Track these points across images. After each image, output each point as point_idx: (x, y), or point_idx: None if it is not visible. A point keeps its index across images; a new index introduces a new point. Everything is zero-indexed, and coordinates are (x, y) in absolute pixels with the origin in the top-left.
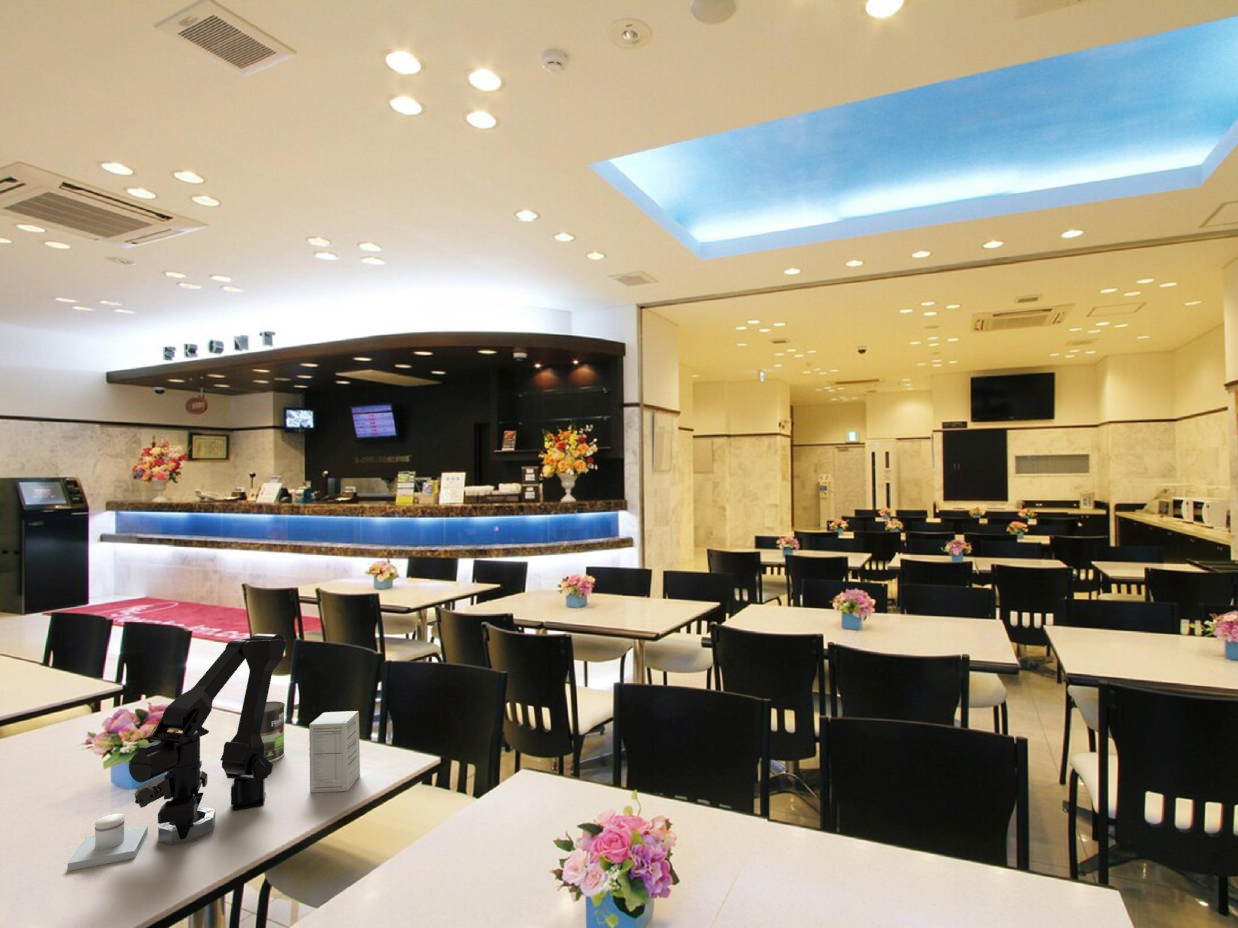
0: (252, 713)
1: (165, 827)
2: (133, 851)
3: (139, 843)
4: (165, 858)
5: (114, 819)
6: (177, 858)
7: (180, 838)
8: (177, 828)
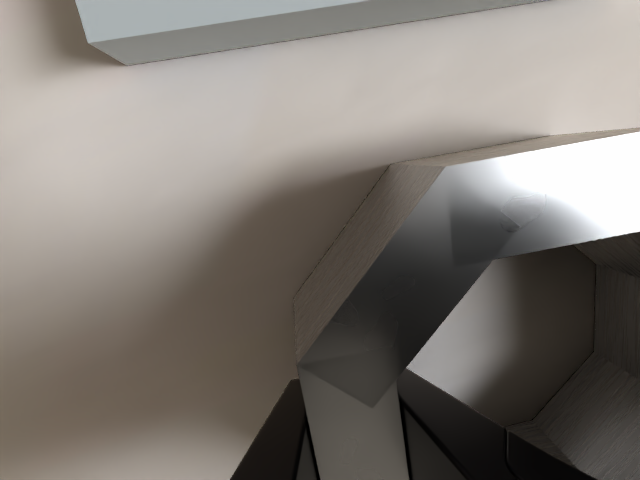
0: None
1: (418, 255)
2: (85, 33)
3: (304, 19)
4: (78, 334)
5: None
6: (65, 418)
7: (290, 385)
8: (239, 472)
